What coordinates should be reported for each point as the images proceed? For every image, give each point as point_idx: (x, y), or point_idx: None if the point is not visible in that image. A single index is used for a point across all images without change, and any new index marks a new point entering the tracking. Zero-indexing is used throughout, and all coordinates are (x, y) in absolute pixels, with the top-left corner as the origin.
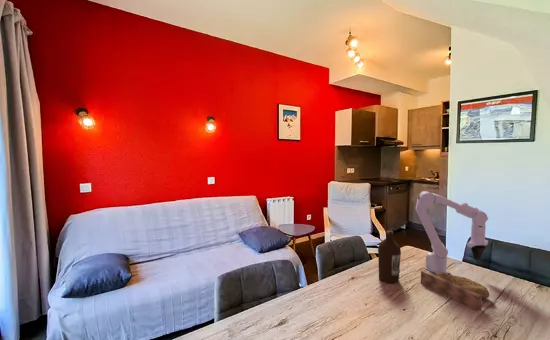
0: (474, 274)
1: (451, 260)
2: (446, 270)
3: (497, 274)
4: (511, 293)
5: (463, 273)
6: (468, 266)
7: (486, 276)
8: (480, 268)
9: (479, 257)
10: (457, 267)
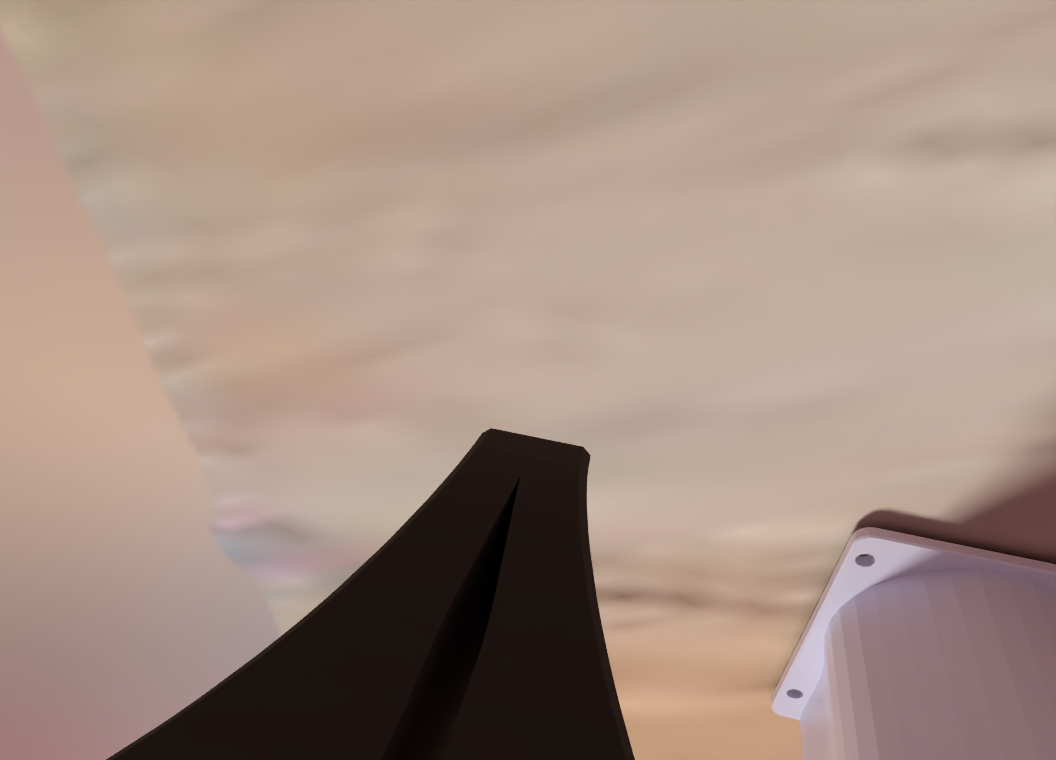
0: (523, 269)
1: None
2: (837, 584)
3: (71, 3)
4: None
5: (663, 395)
6: (279, 434)
7: (395, 92)
8: (156, 303)
9: (542, 503)
10: None
